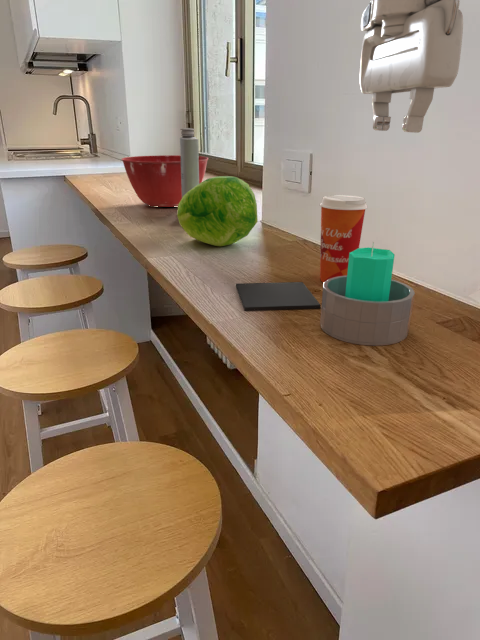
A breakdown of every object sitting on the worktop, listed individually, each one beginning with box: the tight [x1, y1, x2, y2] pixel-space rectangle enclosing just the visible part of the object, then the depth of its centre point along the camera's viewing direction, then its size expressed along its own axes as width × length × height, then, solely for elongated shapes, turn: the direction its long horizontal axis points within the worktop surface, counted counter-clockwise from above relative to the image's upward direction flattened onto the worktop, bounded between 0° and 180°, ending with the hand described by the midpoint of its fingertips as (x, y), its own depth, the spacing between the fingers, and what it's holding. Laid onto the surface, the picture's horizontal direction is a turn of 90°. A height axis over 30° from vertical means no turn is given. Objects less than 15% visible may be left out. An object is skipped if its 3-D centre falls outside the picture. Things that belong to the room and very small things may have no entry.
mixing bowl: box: [120, 154, 209, 207], centre depth 165 cm, size 28×28×15 cm
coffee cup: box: [319, 194, 368, 284], centre depth 88 cm, size 8×8×15 cm
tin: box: [319, 275, 416, 347], centre depth 69 cm, size 12×12×6 cm
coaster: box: [235, 281, 322, 312], centre depth 82 cm, size 12×12×1 cm
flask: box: [179, 127, 200, 198], centre depth 138 cm, size 17×5×25 cm, turn 7°
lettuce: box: [176, 175, 258, 247], centre depth 114 cm, size 17×20×17 cm
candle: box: [345, 241, 396, 302], centre depth 68 cm, size 6×6×12 cm
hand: (395, 131), depth 62 cm, fingers open, 8 cm apart
